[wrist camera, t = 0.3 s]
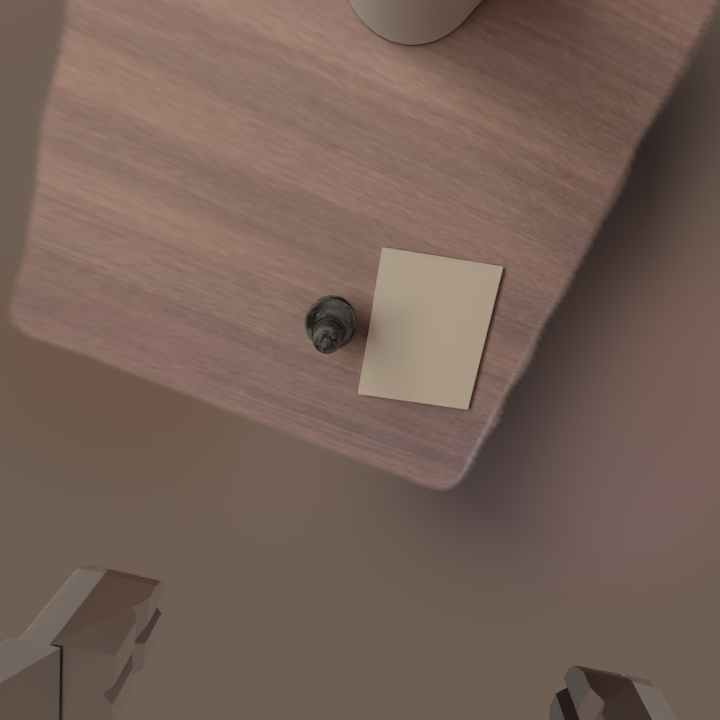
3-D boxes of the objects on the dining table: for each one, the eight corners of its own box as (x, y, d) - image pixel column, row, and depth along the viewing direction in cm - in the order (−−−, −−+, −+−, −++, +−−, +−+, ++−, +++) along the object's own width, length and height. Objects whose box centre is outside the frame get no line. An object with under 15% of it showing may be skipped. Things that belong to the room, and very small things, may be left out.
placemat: (382, 246, 53) (382, 247, 52) (501, 266, 54) (503, 266, 53) (358, 392, 58) (358, 394, 58) (466, 407, 59) (467, 409, 59)
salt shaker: (363, 331, 56) (365, 363, 45) (318, 347, 57) (308, 382, 45) (347, 285, 54) (344, 306, 43) (300, 302, 55) (285, 327, 43)
